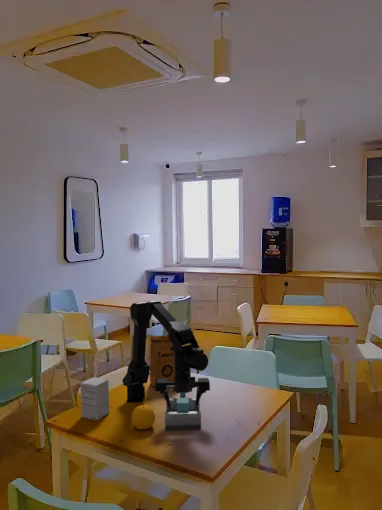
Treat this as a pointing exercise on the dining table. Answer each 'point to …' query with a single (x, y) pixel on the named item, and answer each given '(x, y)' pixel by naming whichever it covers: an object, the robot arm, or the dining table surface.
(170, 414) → the vise
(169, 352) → the coffee package
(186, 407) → the teal block
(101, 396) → the supplement box
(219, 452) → the dining table surface
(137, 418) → the orange fruit
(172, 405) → the vise jaw
